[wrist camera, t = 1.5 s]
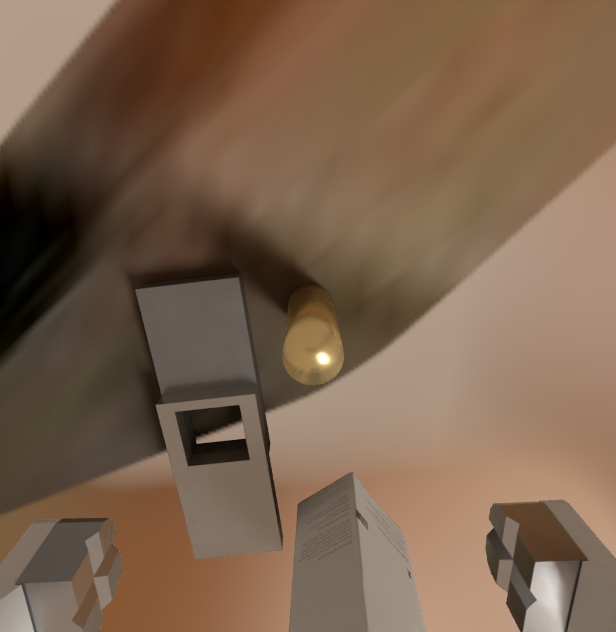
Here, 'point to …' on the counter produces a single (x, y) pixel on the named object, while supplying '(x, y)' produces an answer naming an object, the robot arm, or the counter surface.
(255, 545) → the bar with square hole
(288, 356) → the pin
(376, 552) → the skincare box
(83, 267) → the counter surface
